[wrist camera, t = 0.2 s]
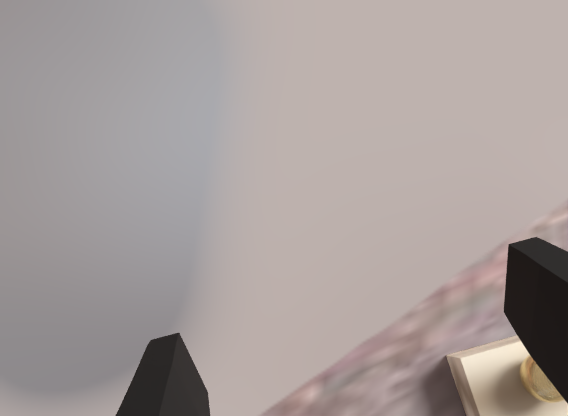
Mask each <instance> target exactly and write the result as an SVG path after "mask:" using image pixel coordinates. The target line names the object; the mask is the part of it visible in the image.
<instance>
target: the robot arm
mask: <svg viewBox="0 0 568 416" xmlns="http://www.w3.org/2000/svg"><path fill="white" fill-rule="evenodd" d="M504 313H505V315H506V317H507V318H508V320H509V322H510V323H511V325H512V327H513V329H514V330H515V332H516V334H517V335H518V337H519V339H520V340H521V342H522V343H523V345H524V347H525V348H526V350H527V351H528V353H529V354H530V356H531V357H532V358H533V360H534V361H535V362H536V364H537V365H538V366H539V368H540V369H541V370H542V371H543V373H544V374H545V375H546V377H547V378H548V379H549V380H550V382H551V383H552V384H553V386H554V387H555V388H556V389H557V391H558V392H559V393H560V395H561V396H562V397H563V398H564V400H565V401H566V402H567V403H568V252H567V251H565V250H563V249H561V248H559V247H557V246H555V245H552V244H550V243H548V242H546V241H544V240H542V239H540V238H537V237H534V238H531V239H527V240H523V241H519V242H516V243H512V244H509V247H508V261H507V274H506V288H505V302H504ZM116 416H210V409H209V400H208V392H207V390H206V388H205V385H204V384H203V381H202V379H201V377H200V375H199V373H198V371H197V369H196V367H195V365H194V363H193V360H192V358H191V356H190V354H189V352H188V350H187V348H186V346H185V344H184V342H183V340H182V338H181V336H180V333H176V334H172V335H168V336H164V337H161V338H157V339H153V340H151V341H150V342H149V344H148V346H147V348H146V350H145V352H144V354H143V357H142V359H141V361H140V364H139V366H138V368H137V370H136V373H135V375H134V377H133V380H132V382H131V384H130V386H129V388H128V391H127V393H126V395H125V397H124V400H123V401H122V404H121V406H120V408H119V410H118V412H117V414H116Z"/></svg>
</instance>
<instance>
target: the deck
mask: <svg viewBox="0 0 568 416" xmlns="http://www.w3.org/2000/svg"><path fill="white" fill-rule="evenodd" d="M528 355H530V354H529V353H528V351H527V350H526V348H525V347H524V345H523V343H522V342H521V340H520V339H519V337H518V335H516V336H513V337H509V338H506V339H502V340H499V341H495V342H491V343H488V344H484V345H481V346H477V347H474V348H470V349H467V350H463V351H459V352H456V353H452V354H449V355H446V357H447V360H448V363H449V366H450V369H451V372H452V375H453V378H454V381H455V384H456V387H457V390H458V393H459V396H460V399H461V402H462V405H463V408H464V411H465V414H466V416H568V403H567V402H566V401H565V400H563V401H561V402H557V403H547V402H543V401H540V400H538V399H536V398H534V397H533V396H532V395H530V394H529V393H528V392H527V391H526V389H525V388H524V386H523V384H522V382H521V379H520V366H521V364H522V362H523V360H524V359H525V358H526V357H527V356H528Z"/></svg>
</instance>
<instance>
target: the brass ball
mask: <svg viewBox="0 0 568 416" xmlns="http://www.w3.org/2000/svg"><path fill="white" fill-rule="evenodd" d="M520 379H521V382H522V384H523V386H524V388H525V389H526V391H527V392H528V393H529V394H530V395H532V396H533V397H534V398H536V399H538V400H540V401H543V402H547V403H557V402H561V401H563V400H564V398H563V397H562V396H561V395H560V393H559V392H558V391H557V389H556V388H555V387H554V386H553V384H552V383H551V382H550V380H549V379H548V378H547V377H546V375H545V374H544V373H543V371H542V370H541V369H540V368H539V366H538V365H537V364H536V362H535V361H534V360H533V358H532V357H531V356H530V355H528V356H527V357H526V358H525V359H524V360H523V362H522V364H521V366H520Z"/></svg>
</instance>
